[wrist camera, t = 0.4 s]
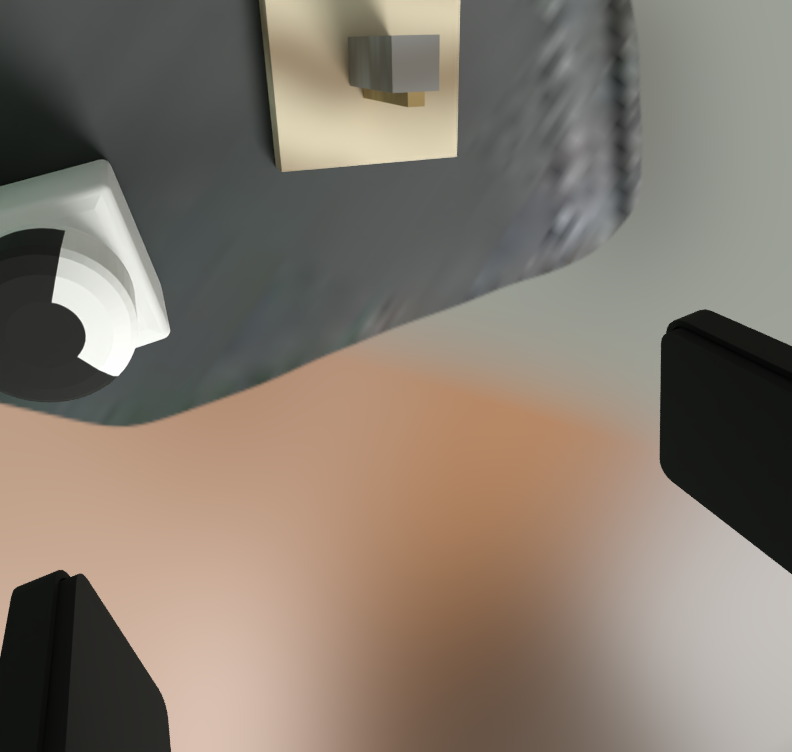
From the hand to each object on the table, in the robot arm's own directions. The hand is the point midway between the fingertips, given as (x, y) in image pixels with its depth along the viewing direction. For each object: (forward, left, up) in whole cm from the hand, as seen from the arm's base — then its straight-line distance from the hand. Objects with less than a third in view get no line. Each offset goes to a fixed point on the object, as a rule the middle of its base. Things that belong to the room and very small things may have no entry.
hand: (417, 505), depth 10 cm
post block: (-5, +9, -29) cm, 30 cm away
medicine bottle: (+3, -7, -29) cm, 30 cm away
